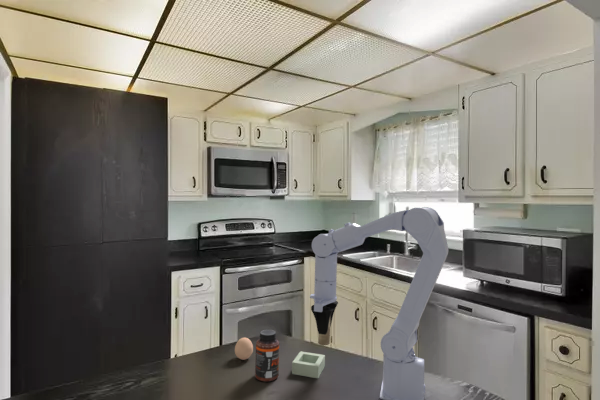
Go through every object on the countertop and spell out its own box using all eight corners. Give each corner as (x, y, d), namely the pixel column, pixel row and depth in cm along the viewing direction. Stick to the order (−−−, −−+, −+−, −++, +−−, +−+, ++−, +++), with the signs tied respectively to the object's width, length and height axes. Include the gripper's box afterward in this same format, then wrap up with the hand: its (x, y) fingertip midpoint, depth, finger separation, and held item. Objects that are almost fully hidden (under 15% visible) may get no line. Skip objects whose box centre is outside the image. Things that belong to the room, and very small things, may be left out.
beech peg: (330, 341, 94) (331, 307, 94) (328, 346, 91) (329, 311, 91) (319, 339, 95) (320, 306, 95) (316, 344, 92) (317, 309, 92)
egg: (235, 355, 102) (235, 334, 102) (253, 354, 102) (253, 334, 102) (233, 363, 97) (234, 341, 97) (252, 362, 97) (253, 341, 97)
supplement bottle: (275, 384, 86) (276, 337, 86) (251, 381, 87) (252, 335, 87) (281, 372, 92) (282, 329, 92) (259, 369, 93) (260, 326, 93)
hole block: (324, 366, 96) (325, 355, 96) (318, 378, 89) (318, 366, 89) (300, 362, 98) (300, 351, 98) (292, 373, 91) (292, 362, 91)
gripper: (317, 272, 101) (316, 320, 101) (302, 284, 87) (301, 339, 87) (342, 275, 99) (341, 323, 99) (330, 287, 85) (329, 343, 85)
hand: (324, 331), depth 93 cm, fingers closed on beech peg, 3 cm apart
